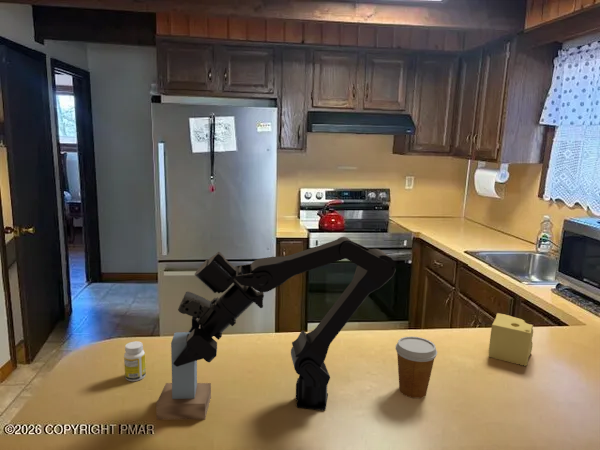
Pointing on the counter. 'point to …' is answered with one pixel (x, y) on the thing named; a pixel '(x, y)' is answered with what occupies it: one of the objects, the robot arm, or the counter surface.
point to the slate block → (182, 370)
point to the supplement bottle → (134, 361)
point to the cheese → (510, 339)
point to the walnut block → (184, 403)
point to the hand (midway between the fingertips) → (177, 356)
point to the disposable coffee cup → (415, 365)
